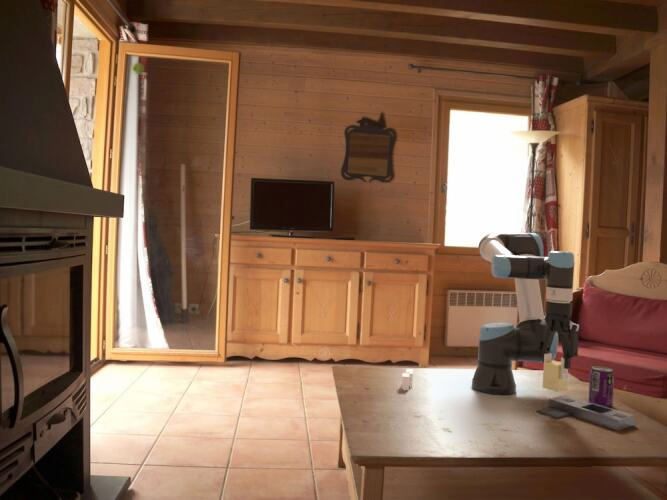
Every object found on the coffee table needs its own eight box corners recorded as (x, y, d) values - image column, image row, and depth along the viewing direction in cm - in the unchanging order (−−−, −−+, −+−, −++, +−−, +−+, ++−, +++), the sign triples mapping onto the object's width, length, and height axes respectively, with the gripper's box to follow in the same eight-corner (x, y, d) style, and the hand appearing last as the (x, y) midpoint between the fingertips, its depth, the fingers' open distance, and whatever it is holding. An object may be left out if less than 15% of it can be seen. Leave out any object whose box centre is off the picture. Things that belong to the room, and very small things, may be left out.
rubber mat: (536, 411, 163) (536, 410, 163) (550, 408, 167) (550, 406, 167) (557, 418, 157) (557, 416, 157) (570, 415, 161) (570, 413, 161)
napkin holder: (406, 380, 195) (407, 365, 195) (431, 387, 187) (432, 372, 187) (379, 387, 185) (380, 371, 185) (404, 395, 177) (405, 378, 177)
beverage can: (615, 409, 169) (617, 372, 168) (591, 406, 170) (593, 370, 170) (608, 402, 176) (610, 367, 175) (585, 400, 177) (587, 365, 177)
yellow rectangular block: (542, 387, 162) (543, 361, 162) (552, 385, 165) (553, 360, 165) (557, 391, 158) (558, 365, 158) (566, 389, 161) (568, 363, 160)
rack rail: (548, 408, 167) (549, 398, 167) (565, 404, 172) (565, 394, 172) (617, 430, 149) (618, 419, 149) (634, 425, 154) (634, 414, 154)
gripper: (526, 298, 166) (522, 371, 167) (579, 305, 151) (575, 385, 152) (540, 297, 170) (537, 368, 171) (594, 304, 155) (590, 382, 156)
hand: (555, 376), depth 161 cm, fingers closed on yellow rectangular block, 5 cm apart
